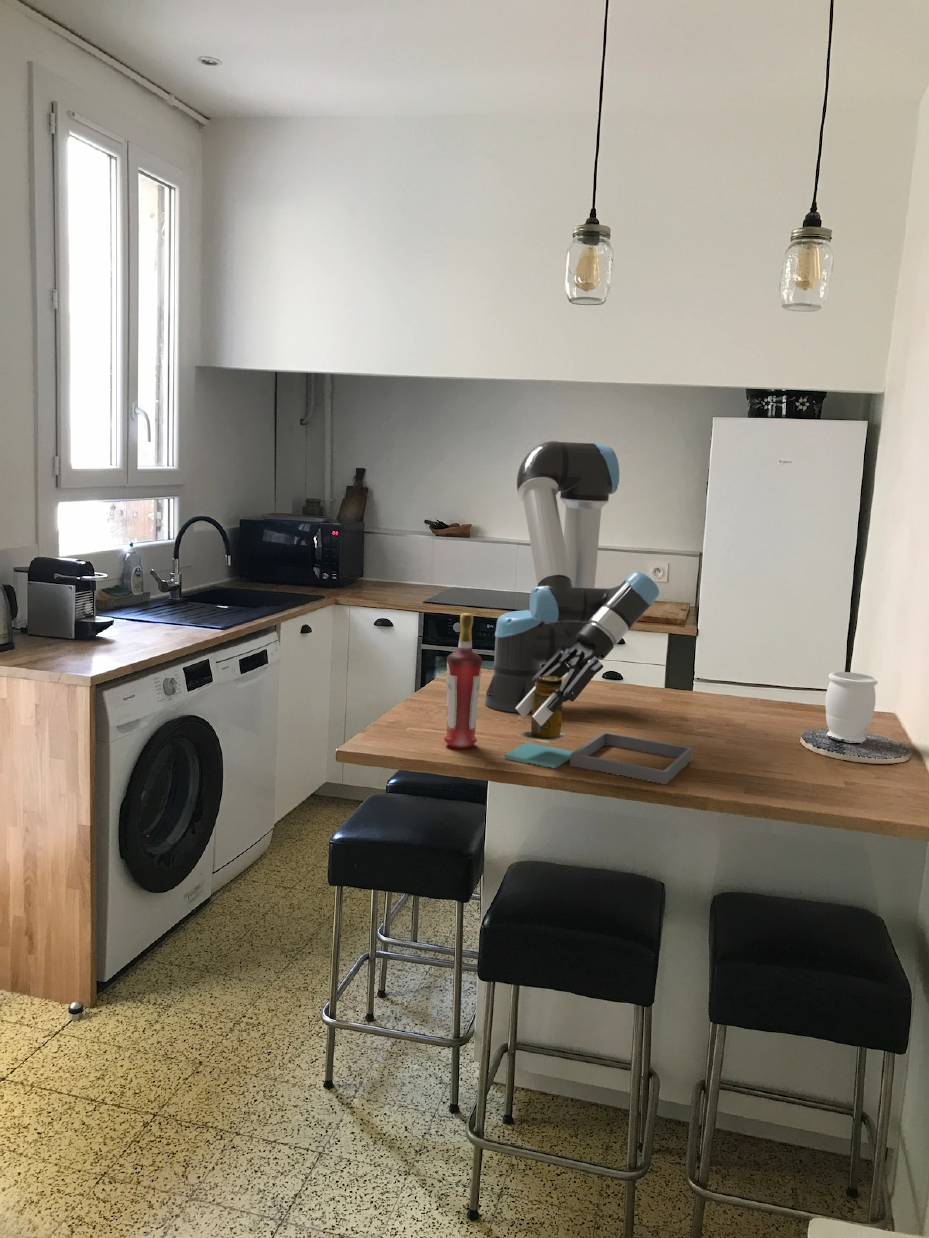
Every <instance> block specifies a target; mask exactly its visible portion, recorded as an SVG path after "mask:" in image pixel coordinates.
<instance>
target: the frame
mask: <svg viewBox="0 0 929 1238" xmlns="http://www.w3.org/2000/svg"><path fill="white" fill-rule="evenodd" d="M605 745H606V746H610V747H616V748H622V749H627V750H631V751H639V752H644V753H649V754H655V755H659V756H665V757H671V758H676V759H675V760H673V762H671V764H669V765H668V766H667V767H666V768H664V770H663V769H660V768H659V769H657V768H654V767H653V768H652V767H648V766H647V767H646V766H643V765H638V764H633V763H628V762H627V763H626V762H623V761H617V760H611V759H606V758H601V757H596V756H591V755H592V754H593V753H595V752H596V751H598V750H599V749H601V748H602V747H603V746H605ZM693 750H694V748H693V747H689V746H683V745H677V744H673V743H668V742H661V741H657V740H651V739H645V738H638V737H635V736H634V737H633V736H627V735H622V734H619V733H618V734H616V733H612V732H606V731H603V732H601V733H600V734H598V735H597V736H595V737H594V738H593V739H591V740H589V741H588V742H586V743H585V744H583V745H582V746H580V747H579V748H578V749H576V750H574V752H573V753H571V757H570V759H569V767H573V768H578V767H582V768H581V769H583V768H586V769H585V770H588V769H589V770H588V771H593V770H598V771H602V772H601V773H603V772H606V773H605V774H608V773H614V774H619V775H623V776H622V777H624V776H627V777H626V778H629V777H634V778H638V779H637V780H639V779H642V780H641V781H644V780H650V781H654V782H657V783H656V784H659V783H661V784H660V785H664V784H666V785H668V784H669V783H670V781H671V780H672V779H674V777H676V775H678V774H679V771H680V770H683V769H684V768H685V767H686V766H687V765H688V764H689V763H690V762H691V761H692V760H693V752H694V751H693ZM687 763H688V764H687ZM683 767H684V768H683ZM682 768H683V769H682ZM598 771H597V772H598ZM680 772H681V771H680ZM614 774H613V775H614ZM619 775H618V776H619ZM634 778H633V779H634ZM669 780H670V781H669ZM654 782H653V783H654Z"/></svg>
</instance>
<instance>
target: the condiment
mask: <svg viewBox="0 0 929 1238" xmlns="http://www.w3.org/2000/svg"><path fill="white" fill-rule="evenodd" d="M562 683H563V680H562V677H561V678H559V677H555V676H539V677H537V679H536V686H535V687H536V688H535V690H534V692H533V707H532V712H531V726H530V727H531V728H530V730H529V731H525V732H522V733H518V734H517V736H519V737H521V738H526V739H529V740H533V741H537V742H540V743H546V744H549V743H551V742H553V741H557V740H559V739H562V738H565V737H567V736H569V734H568V733H565V732H564V733H563V732H562V718H563V716H562V715H563V703H564V702H563V703H562V704H561V705H560V706H559V708H558V709H557V710H556V711H555V712H554V713H553V714H552V715H551V716H550V717H549V718H548V719H547V720H546V722H545V723H544V724H543V725H542V726H541V725H539V724H538V723H537V721H536V720H535V719H534V718H533V717H532V716H533V715H534V714H535V712H536V711H537V710H538V709H539V708H540V707H541V706H542V705H543V703H544V702H545V701H546V700H547V699H548V698H549V697H550V695H551V694H552V693H553V692H554V693H555V694H556V695H558V694H557V693H556V692H555V689H558V690H559V688H560V686H561V685H562Z"/></svg>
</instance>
